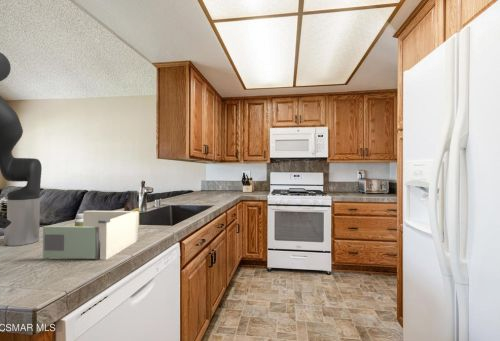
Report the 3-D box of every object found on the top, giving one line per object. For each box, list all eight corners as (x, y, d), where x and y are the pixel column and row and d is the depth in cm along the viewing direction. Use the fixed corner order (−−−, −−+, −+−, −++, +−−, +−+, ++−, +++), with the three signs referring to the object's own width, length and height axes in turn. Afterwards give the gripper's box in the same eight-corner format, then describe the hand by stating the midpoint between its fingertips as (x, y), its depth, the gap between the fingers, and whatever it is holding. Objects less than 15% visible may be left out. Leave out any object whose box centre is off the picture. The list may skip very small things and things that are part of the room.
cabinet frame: (38, 259, 75) (38, 219, 75) (86, 239, 97) (86, 208, 97) (105, 260, 75) (105, 220, 75) (138, 240, 96) (138, 209, 96)
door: (41, 258, 75) (42, 227, 75) (45, 256, 76) (45, 226, 76) (96, 258, 75) (96, 227, 75) (99, 257, 76) (99, 226, 76)
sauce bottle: (132, 237, 101) (133, 191, 101) (119, 236, 102) (120, 190, 102) (142, 233, 107) (142, 190, 107) (130, 232, 108) (130, 189, 108)
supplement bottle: (89, 233, 105) (90, 212, 105) (89, 236, 101) (89, 214, 101) (75, 235, 102) (75, 213, 102) (74, 238, 98) (74, 215, 98)
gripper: (-44, 170, 52) (29, 216, 62) (-55, 170, 58) (12, 211, 69) (-86, 196, 47) (0, 241, 58) (-93, 192, 54) (-14, 233, 64)
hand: (7, 225), depth 63 cm, fingers closed
